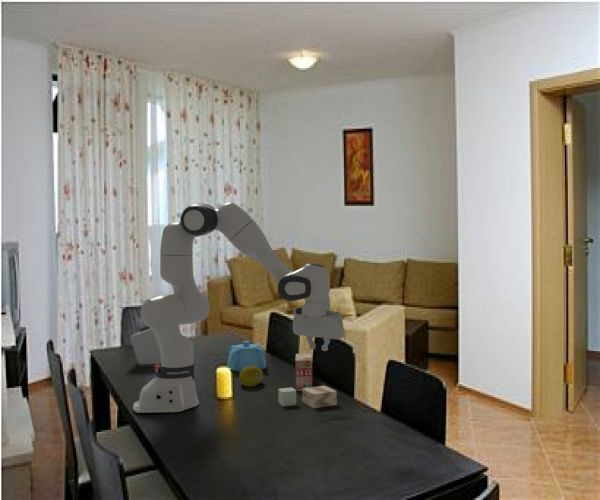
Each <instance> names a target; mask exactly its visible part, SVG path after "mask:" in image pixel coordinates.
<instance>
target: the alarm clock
mask: <svg viewBox="0 0 600 500" xmlns="http://www.w3.org/2000/svg"><path fill="white" fill-rule="evenodd" d="M138 330H139V331H138V332H136V333H134V334H132V335H131V336H130V337H129V338H130V342H131V345H132V348H133V351H134V353H135V357H136V360H137V364H138V366H137V367H138V368H139V367H141V368H143V367H144V368H146V367H148V368H149V367H151V368H152V367H154V368H155V366H156V365H161V349H160V343H159V340H158V337H157V335H156V334H155V332H154V331H153V330H152V329H151V328H150V327H148V326H147V325H146V324H145V325H144V326H142V327H140V328H139V329H138Z"/></svg>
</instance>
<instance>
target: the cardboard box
mask: <svg viewBox="0 0 600 500" xmlns="http://www.w3.org/2000/svg"><path fill="white" fill-rule="evenodd" d="M310 387H313V357H312V354H311V353H296V354H295V390H296V391H302V388H310Z"/></svg>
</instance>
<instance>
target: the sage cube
mask: <svg viewBox="0 0 600 500" xmlns="http://www.w3.org/2000/svg"><path fill="white" fill-rule="evenodd" d="M277 395H278V396H277V397H278V404H279V405H281V407H290V406H297V392H296V388H294V387H284V388H283V387H282V388H278V390H277Z"/></svg>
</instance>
